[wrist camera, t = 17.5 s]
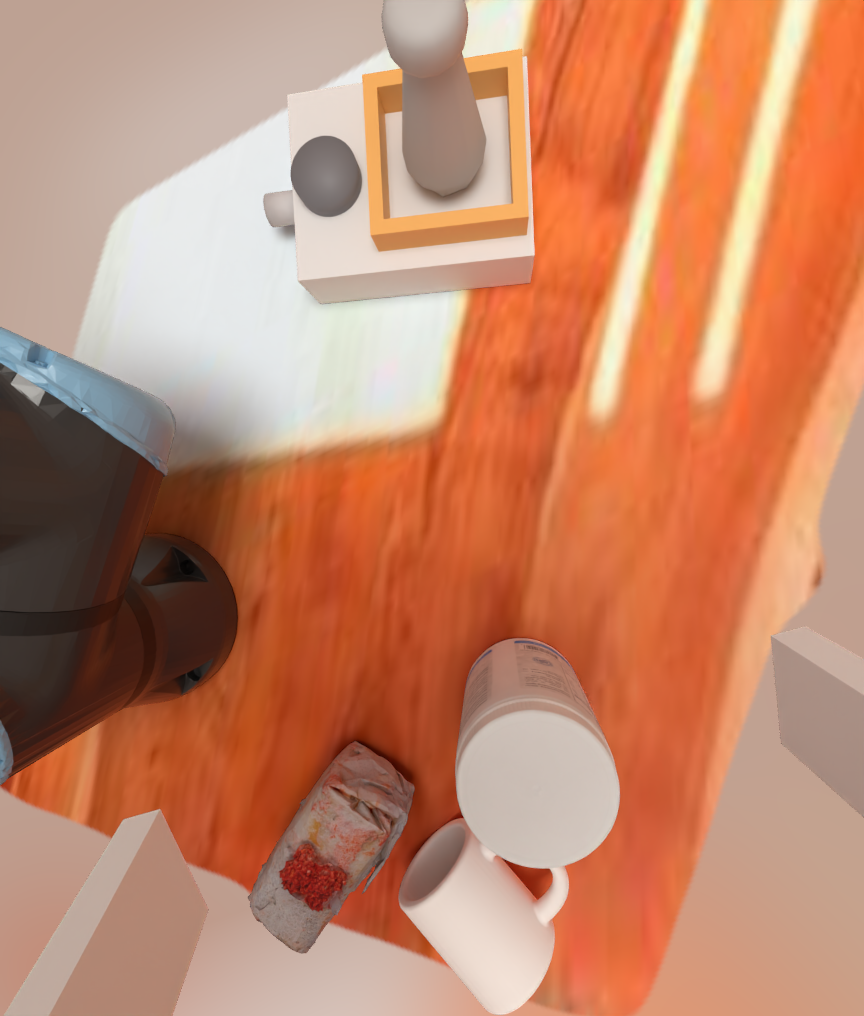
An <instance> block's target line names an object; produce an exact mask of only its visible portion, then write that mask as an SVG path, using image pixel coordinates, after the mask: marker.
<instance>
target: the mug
mask: <svg viewBox="0 0 864 1016" xmlns="http://www.w3.org/2000/svg"><path fill="white" fill-rule="evenodd" d="M549 869H550V870H551V872H552V875H553V881H552V884H551V886H550V888H549V889H548V890H547V892H546V893H545V894H544V895H543V896H542V897H541V898H540V899H538V900H537V899H536V898H535V897H534V895H533V894H532V893H531V892H530V891H529V890H528V888H527V887H526V886H525V885H524V884H523V882H522V881H521V880H520V879H519V878H518V877H517V875H516V874H515V873H514V872H513V871H512V870H511V868H510V867H509V866H508V865H507V864H506V863H505V861H504V860H503V859H502V858H501V857H499V856H498V855H496V854H495V853H493V852H492V851H491V850H489V849H488V848H487V847H486V846H484V845H483V844H482V843H481V842H480V841H479V840H478V838H477V837H476V836H475V835H474V834H473V832H472V831H471V830H470V828H469V826H468V825H467V823H466V821H465V819H464V818H459V819H455V820H452V821H450V822H448V823H447V824H445V825H444V826H442V827H441V828H440V829H439V830H437V831H436V832H435V833H434V834H433V835H432V836H431V837H430V838H429V839H428V840H427V841H426V842H425V843H424V845H423V846H422V847H421V848H420V850H419V851H418V852H417V854H416V855H415V857H414V858H413V860H412V861H411V863H410V865H409V867H408V868H407V870H406V873H405V875H404V877H403V880H402V882H401V886H400V890H399V904H400V907H401V909H402V910H403V911H404V912H405V914H406V915H407V916H408V917H409V918H410V920H411V921H412V922H413V923H414V924H415V926H416V927H417V928H418V929H419V930H420V932H421V933H422V934H423V935H424V936H425V938H426V939H427V940H428V941H429V942H430V944H431V945H432V946H433V947H434V948H435V950H436V951H437V952H438V953H439V954H440V956H441V957H442V958H443V959H444V960H445V962H446V963H447V964H448V965H449V966H450V968H451V969H452V970H453V971H454V972H455V974H456V975H457V976H458V977H459V978H460V980H461V981H462V982H463V983H464V984H465V985H466V987H467V988H468V989H469V990H470V992H471V993H472V994H473V995H474V996H475V997H476V998H477V1000H478V1001H479V1002H480V1003H481V1005H482V1006H483V1007H484V1008H485V1009H486V1010H487V1011H488V1012H490V1013H492V1014H495V1015H504V1014H508V1013H510V1012H512V1011H514V1010H516V1009H518V1008H519V1007H520V1006H522V1005H523V1004H524V1003H525V1002H526V1001H527V1000H528V999H529V998H530V997H531V996H532V995H533V993H534V992H535V991H536V989H537V988H538V986H539V985H540V983H541V982H542V980H543V978H544V976H545V974H546V972H547V969H548V967H549V964H550V961H551V958H552V954H553V950H554V942H555V931H554V925H553V921H552V918H553V917H554V916H555V915H556V914H557V913H558V912H559V910H560V909H561V907H562V906H563V904H564V902H565V900H566V898H567V895H568V890H569V879H568V874H567V871H566V869H565V866H561V867H556V868H549Z"/></svg>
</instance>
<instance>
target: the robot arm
mask: <svg viewBox="0 0 864 1016" xmlns="http://www.w3.org/2000/svg"><path fill="white" fill-rule="evenodd" d="M175 430H176V422H175V418H174V416H173V414H172V412H171V409H170V408H169V407H168V406H167V405H166V404H165V403H164V402H163V401H162V400H160V399H159V398H157V397H155V396H153V395H151V394H149V393H147V392H145V391H143V390H140V389H138V388H136V387H134V386H132V385H130V384H127V383H125V382H123V381H121V380H119V379H116V378H114V377H112V376H110V375H108V374H105V373H103V372H101V371H99V370H96V369H94V368H92V367H90V366H87V365H85V364H83V363H81V362H78V361H76V360H74V359H72V358H69V357H67V356H65V355H62V354H60V353H58V352H55V351H52V350H50V349H48V348H46V347H45V346H42V345H40V344H37V343H35V342H33V341H30V340H28V339H26V338H24V337H22V336H20V335H18V334H15V333H13V332H11V331H9V330H6V329H4V328H2V327H0V785H1V784H3V783H4V782H5V781H6V779H8V778H9V777H11V776H13V775H14V774H16V773H18V772H19V771H21V770H23V769H24V768H26V767H27V766H29V765H31V764H32V763H34V762H36V761H37V760H39V759H41V758H42V757H44V756H45V755H47V754H49V753H50V752H52V751H54V750H55V749H57V748H59V747H60V746H62V745H64V744H65V743H67V742H68V741H70V740H72V739H73V738H75V737H77V736H78V735H80V734H82V733H83V732H85V731H86V730H88V729H90V728H91V727H93V726H95V725H96V724H98V723H100V722H101V721H103V720H104V719H106V718H108V717H109V716H111V715H113V714H114V713H116V712H118V711H120V710H121V709H123V708H128V707H134V706H141V705H147V704H153V703H159V702H165V701H169V700H173V699H175V698H178V697H180V696H183V695H185V694H187V693H189V692H190V691H192V690H193V689H195V688H197V687H198V686H200V685H201V684H203V683H204V682H206V681H207V680H208V679H209V678H211V677H212V676H213V675H214V674H215V673H216V672H217V671H218V670H219V669H220V667H221V666H222V665H223V663H224V662H225V660H226V659H227V657H228V655H229V653H230V650H231V648H232V645H233V642H234V638H235V634H236V627H237V609H236V602H235V598H234V594H233V591H232V588H231V585H230V583H229V581H228V579H227V577H226V575H225V573H224V571H223V570H222V568H221V567H220V566H219V564H218V563H217V562H216V561H215V560H214V558H213V557H212V556H211V555H210V554H209V553H207V552H206V551H205V550H204V549H202V548H201V547H200V546H198V545H197V544H195V543H193V542H191V541H189V540H187V539H185V538H182V537H179V536H175V535H171V534H162V533H154V534H145V531H146V528H147V525H148V522H149V519H150V515H151V512H152V509H153V506H154V503H155V500H156V497H157V494H158V491H159V488H160V485H161V481H162V478H163V477H165V476H167V474H168V467H167V465H166V464H167V460H168V457H169V453H170V449H171V445H172V442H173V438H174V434H175ZM144 534H145V535H144ZM771 644H772V654H773V665H774V675H775V686H776V696H777V707H778V718H779V728H780V739H781V744H782V745H783V746H784V747H786V748H787V749H788V750H789V751H790V752H791V753H792V754H793V755H794V756H796V757H797V758H798V759H799V760H800V761H801V762H802V763H803V764H804V765H806V766H807V767H808V768H809V769H810V770H811V771H812V772H813V773H815V774H816V775H817V776H818V777H819V778H820V779H821V780H822V781H824V782H825V783H826V784H827V785H828V786H829V787H830V788H831V789H832V790H833V791H835V792H836V793H837V794H838V795H839V796H840V797H841V798H843V799H844V800H845V801H846V802H847V803H848V804H849V805H850V806H851V807H852V808H854V809H855V810H856V811H857V812H858V813H859V814H860V815H862V816H863V817H864V659H863V658H861V657H859V656H858V655H856V654H854V653H852V652H851V651H849V650H847V649H845V648H843V647H842V646H840V645H838V644H836V643H835V642H832V641H831V640H829V639H827V638H825V637H824V636H822V635H820V634H819V633H817V632H815V631H813V630H811V629H810V628H808V627H806V626H803V627H800V628H796V629H792V630H789V631H786V632H782V633H778V634H775V635H771ZM207 913H208V907H207V905H206V903H205V901H204V899H203V897H202V895H201V893H200V891H199V889H198V887H197V885H196V883H195V880H194V878H193V876H192V874H191V872H190V870H189V868H188V866H187V864H186V862H185V859H184V857H183V855H182V853H181V851H180V849H179V847H178V845H177V843H176V841H175V839H174V837H173V834H172V832H171V830H170V828H169V826H168V824H167V822H166V820H165V818H164V816H163V814H162V811H161V809H158V810H155V811H151V812H148V813H144V814H141V815H137V816H134V817H130V818H127V819H123V821H122V822H121V824H120V826H119V827H118V829H117V831H116V832H115V834H114V836H113V837H112V839H111V840H110V842H109V844H108V845H107V847H106V849H105V850H104V852H103V854H102V855H101V857H100V858H99V860H98V862H97V863H96V865H95V867H94V868H93V870H92V872H91V873H90V875H89V877H88V878H87V880H86V881H85V883H84V885H83V886H82V888H81V890H80V891H79V893H78V894H77V896H76V898H75V899H74V901H73V903H72V904H71V906H70V908H69V909H68V911H67V913H66V914H65V916H64V917H63V919H62V921H61V922H60V924H59V926H58V927H57V929H56V930H55V932H54V934H53V935H52V937H51V939H50V940H49V942H48V944H47V945H46V947H45V948H44V950H43V952H42V953H41V955H40V957H39V958H38V960H37V962H36V963H35V965H34V966H33V968H32V970H31V971H30V973H29V975H28V976H27V978H26V980H25V981H24V983H23V985H22V986H21V988H20V989H19V991H18V993H17V994H16V996H15V998H14V999H13V1001H12V1002H11V1004H10V1006H9V1008H8V1009H7V1011H6V1012H5V1014H4V1016H172V1015H173V1012H174V1009H175V1006H176V1003H177V1001H178V998H179V995H180V992H181V989H182V986H183V983H184V980H185V977H186V974H187V971H188V968H189V965H190V962H191V959H192V957H193V954H194V951H195V948H196V945H197V941H198V939H199V936H200V933H201V930H202V927H203V924H204V921H205V918H206V915H207Z"/></svg>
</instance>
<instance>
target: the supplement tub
mask: <svg viewBox="0 0 864 1016" xmlns="http://www.w3.org/2000/svg"><path fill="white" fill-rule="evenodd" d="M455 777H456V792H457V799H458V803H459V807H460V810H461V812H462V815H463V817H464V819H465V821H466V823H467V825H468V826H469V828H470V830H471V831H472V832H473V834H474V835H475V836H476V837H477V838H478V840H479V841H480V842H481V843H482V844H483V845H484V846H486V847H487V848H488V849H489V850H491V851H492V852H493V853H495V854H496V855H498V856H499V857H501V858H503V859H505V860H507V861H509V862H512V863H515V864H518V865H521V866H525V867H530V868H541V869H544V868H556V867H561V866H565V865H568V864H571V863H574V862H576V861H578V860H580V859H582V858H584V857H586V856H587V855H589V854H590V853H591V852H593V851H594V850H595V849H596V848H597V847H598V846H599V845H600V844H601V843H602V842H603V841H604V839H605V838H606V837H607V835H608V834H609V832H610V830H611V829H612V827H613V825H614V822H615V820H616V817H617V813H618V809H619V801H620V786H619V780H618V775H617V771H616V767H615V762H614V759H613V755H612V753H611V750H610V748H609V746H608V743H607V741H606V739H605V736H604V734H603V732H602V730H601V728H600V725H599V723H598V721H597V719H596V717H595V715H594V712H593V710H592V708H591V706H590V704H589V702H588V699H587V697H586V695H585V693H584V691H583V689H582V687H581V684H580V682H579V680H578V678H577V676H576V674H575V672H574V670H573V668H572V666H571V665H570V664H569V662H568V661H567V660H566V659H565V657H564V656H563V655H562V654H560V653H559V652H558V651H557V650H556V649H554V648H553V647H551V646H549V645H548V644H545V643H543V642H540V641H538V640H534V639H528V638H513V639H507V640H504V641H501V642H499V643H496V644H494V645H493V646H491V647H489V648H488V649H487V650H486V651H484V652H483V653H482V654H481V655H480V656H479V657H478V659H477V660H476V661H475V663H474V664H473V666H472V667H471V670H470V672H469V675H468V677H467V681H466V687H465V694H464V701H463V709H462V716H461V723H460V731H459V738H458V745H457V754H456V765H455Z"/></svg>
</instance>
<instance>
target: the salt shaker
mask: <svg viewBox="0 0 864 1016" xmlns="http://www.w3.org/2000/svg"><path fill="white" fill-rule="evenodd" d="M467 28H468V12H467V8H466V4H465V0H384V3H383V11H382V29H383V32H384V36H385V40H386V44H387V47H388V50H389V53H390V56H391V58H392V59H393V61H394V62H395V63H396V64H397V65H398V66H399V67H400V68H401V69H402V153H403V157H404V161H405V164H406V168H407V171H408V173H409V174H410V175H411V176H412V177H413V178H414V179H415V180H416V181H417V182H418V183H419V184H420V185H421V186H422V187H424V188H426V189H429V190H432V191H435V192H436V193H438V194H439V195H441V196H442V197H445V196H448V195H450V194H453V193H455V192H458V191H461V190H463V189H466V188H467V187H468V186H469V184H470V182H471V181H472V179H473V178H474V176H475V175H476V173H477V171H478V170H479V168H480V167H481V165H482V164H483V159H484V152H485V146H486V140H487V139H486V135H485V132H484V128H483V125H482V121H481V118H480V114H479V111H478V107H477V104H476V100H475V97H474V93H473V90H472V86H471V83H470V79H469V76H468V72H467V69H466V65H465V62H464V59H463V55H462V50H463V48H464V45H465V39H466V33H467Z"/></svg>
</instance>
